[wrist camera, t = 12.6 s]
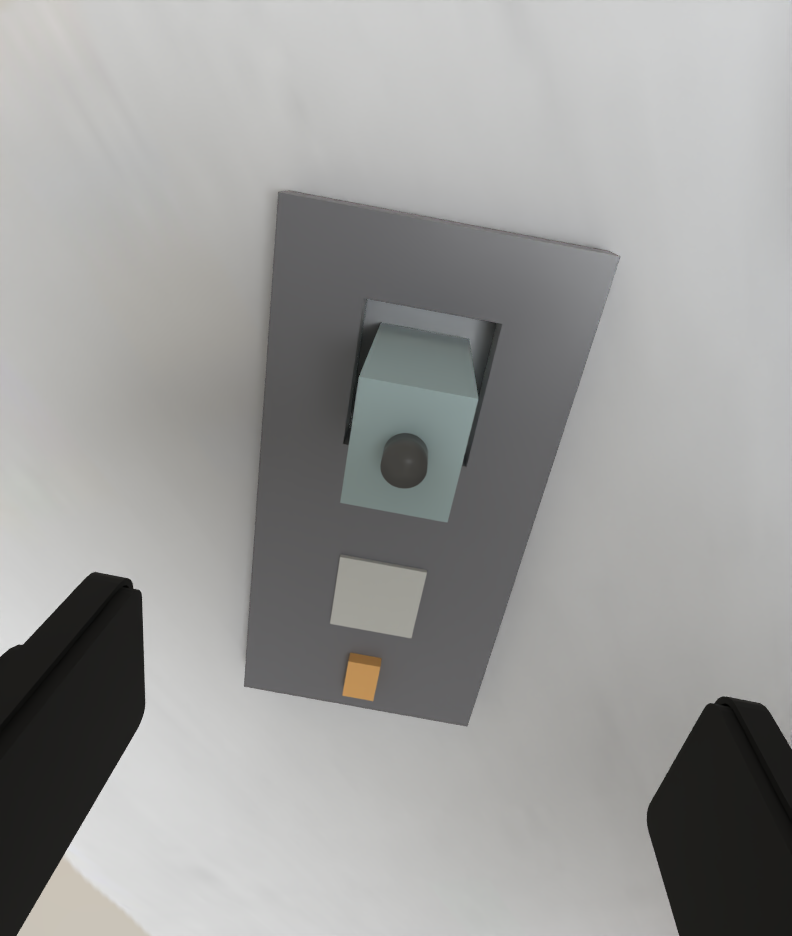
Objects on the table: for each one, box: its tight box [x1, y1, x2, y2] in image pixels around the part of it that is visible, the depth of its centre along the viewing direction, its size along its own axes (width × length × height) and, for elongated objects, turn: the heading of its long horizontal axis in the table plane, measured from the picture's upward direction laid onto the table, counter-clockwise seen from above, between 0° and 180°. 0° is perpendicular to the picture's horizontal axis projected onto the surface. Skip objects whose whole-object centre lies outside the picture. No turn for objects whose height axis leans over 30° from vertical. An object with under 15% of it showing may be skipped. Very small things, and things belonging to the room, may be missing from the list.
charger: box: [340, 322, 478, 522], centre depth 21 cm, size 4×4×8 cm
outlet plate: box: [244, 191, 620, 726], centre depth 26 cm, size 24×12×2 cm, turn 170°
